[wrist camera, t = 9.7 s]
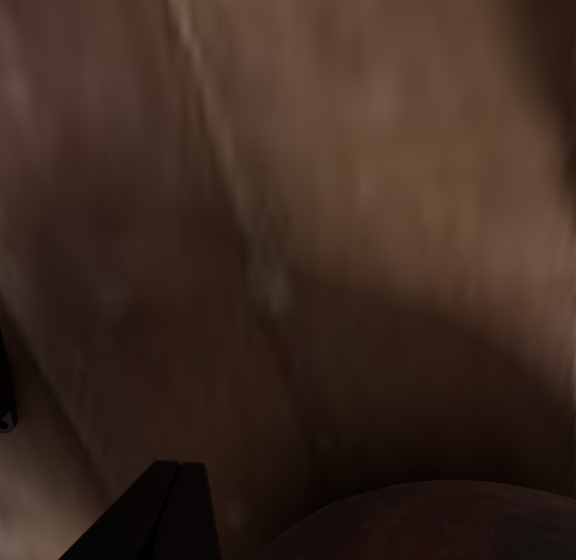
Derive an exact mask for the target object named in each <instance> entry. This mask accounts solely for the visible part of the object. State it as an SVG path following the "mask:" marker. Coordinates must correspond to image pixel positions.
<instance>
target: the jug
mask: <svg viewBox="0 0 576 560" xmlns="http://www.w3.org/2000/svg"><path fill="white" fill-rule="evenodd" d="M249 560H576V499H573V498H569V497H565V496H561V495H558V494H554V493H550V492H546V491H542V490H537V489H532V488H526V487H520V486H515V485H509V484H501V483H494V482H486V481H473V480H431V481H420V482H409V483H404V484H398V485H393V486H389V487H385V488H380V489H376V490H372V491H368V492H365V493H361V494H358V495H354V496H351V497H347V498H344V499H340V500H338V501H336V502H333V503H331V504H329V505H326V506H325V507H323V508H321V509H320V510H318V511H316V512H315V513H313V514H311V515H310V516H308V517H306V518H305V519H303V520H301V521H300V522H298V523H297V524H295V525H294V526H292V527H291V528H289V529H288V530H286V531H285V532H283V533H282V534H280V535H279V536H278V537H276V538H275V539H274V540H272V541H271V542H269V543H268V544H267V545H265V546H264V547H263V548H261V549H260V550H259V551H258V552H257V553H255V554H254V555H253V556H252V557H251V558H250V559H249Z"/></svg>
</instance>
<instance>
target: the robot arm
mask: <svg viewBox="0 0 576 560" xmlns="http://www.w3.org/2000/svg"><path fill="white" fill-rule="evenodd" d="M17 424H18V417H17V412H16V407H15V397H14V392H13V387H12V382H11V377H10V372H9V366H8V362H7V360H6V356H5V351H4V346H3V340H2V335H1V330H0V433H9V432H11V431H12V430H13V429H14V428H15V427H16V425H17ZM58 560H222V557H221V551H220V545H219V539H218V534H217V528H216V522H215V517H214V511H213V505H212V500H211V494H210V488H209V482H208V477H207V471H206V466H205V464H203V463H196V462H183V463H182V464H181V465H180V463H179V462H178V461H170V460H157V461H155V462H154V463H152V465H151V466H150V467H149V468H148V469H147V470H146V471H145V472H144V473H143V474H142V475H141V476H140V477H139V478H138V479H137V480H136V481H135V482H134V483H133V484H132V485H131V486H130V487H129V488H128V489H127V490H126V491H125V492H124V493H123V494H122V495H121V496H120V497H119V498H118V499H117V500H116V501H115V502H114V503H113V504H112V505H111V506H110V507H109V508H108V509H107V510H106V511H105V512H104V513H103V514H102V515H101V517H100V518H99V519H98V520H97V521H96V522H95V523H94V524H93V525H92V526H91V527H90V528H89V529H88V530H87V531H86V532H85V533H84V534H83V535H82V536H81V537H80V538H79V539H78V540H77V541H76V542H75V543H74V544H73V545H72V546H71V547H70V548H69V549H68V550H67V551H66V552H65V553H64V554H63V555H62V556H61V557H60V558H59V559H58Z"/></svg>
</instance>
